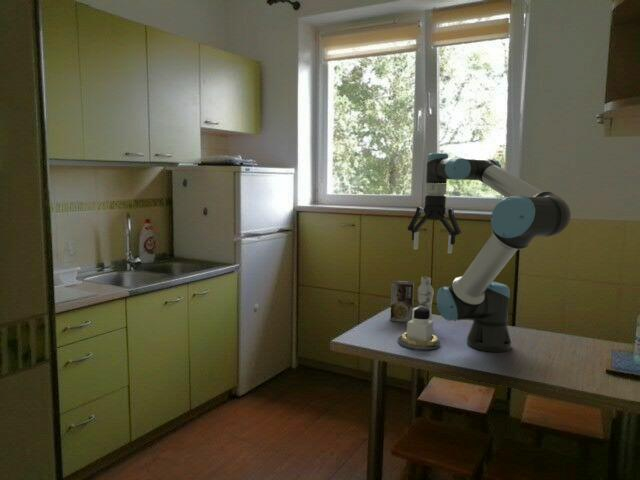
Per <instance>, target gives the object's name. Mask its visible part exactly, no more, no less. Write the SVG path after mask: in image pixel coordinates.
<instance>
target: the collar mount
mask: <svg viewBox="0 0 640 480" xmlns="http://www.w3.org/2000/svg"><path fill="white" fill-rule="evenodd" d="M397 343H398V344H399V345H400V346H401V347H403V348H406V349H410V350H413V351H422V352H423V351H426V352H427V351H434V350H438V349H440V347H441V340H439V339H438V336H437V335H435V334H433V333H432V340H431V341H415V340H411V339H409V338H407V331H405V332H403V333H402V334H401V335H400V336H399V337H398V338H397Z"/></svg>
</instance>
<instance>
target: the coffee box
mask: <svg viewBox="0 0 640 480" xmlns="http://www.w3.org/2000/svg"><path fill="white" fill-rule="evenodd" d="M414 287H415V281H409V280H408V281H407V280H397V279H396V280H392V282H391V289H390V290H391V294H390V295H391V296H390V317H389V318H390V319H389V320H390V322H401V323H403V322H404V323H408V322H409V321H411V320H412V310H413V308H414V294H415V292H414V290H415V289H414Z"/></svg>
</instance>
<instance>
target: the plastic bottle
mask: <svg viewBox="0 0 640 480" xmlns="http://www.w3.org/2000/svg"><path fill="white" fill-rule="evenodd" d="M431 281H432V278H431V277H428V276H424V277H423V276H422V277H421V278H420V283H421V284H420V285H419V286H418V287H417V290H416V294H417V307H424V308H427V309H429V310H430V315H429V320H430V321H433V318H432V305H433V300H434V294H435V290H434V288H433V286H432V284H431V283H432V282H431Z"/></svg>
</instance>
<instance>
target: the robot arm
mask: <svg viewBox="0 0 640 480" xmlns="http://www.w3.org/2000/svg"><path fill="white" fill-rule="evenodd" d="M426 160H427V161H426V172H425V173H426V174H425V175H426V177H425V179H426V180H425V194H426V195H425V196H424V207H422V206H417V207H416V210H415V214H414V215H413V217H412V219H411V221H410V222H409V225H408V226H407V230H408V231H410V232H411V240H412V241H413V247H412V248H413V250H418V249H419V242H420V239H419V238H420V237H419V236H420V232H419V231H418V230H420V228H421V227H422V226H423V225H424V224H425V223H426V222H427V221H430V220H431V221H432V220H435V221H440V222H441V223H442V225H443V227H445V229H446V231H448V233H449V234H450V235H448V237H447V238H448V239H447V240H448V241H447V242H448V243H447V254H452V253H453V245H455V244H456V237H457V236H458V235H461V234H462V232H461V229H460V226H459V224H458V221H457V219H456V217H455V214H454V208H449V209H448V208H447V209H446V203H447V201H446V200H447V197H446V196H445V195H446V194H447V181H448V180H453V181H456V180H457V181H460V180H463V181H465V180H466V181H480V182H481V183H483V184H484V185H485V186H488V188H490V189H492V190H494V191H495V192H496V193H498V194H500V195H501V196H502V197H504V198H502V199H501V200H499V201H498V202H497V203H496V204H495V206H494V207H493V209H492V212H491V216H492V217H491V218H490V224H491V232H492V234H491V236H490V237H489V238H488V240H486V242H485V244H484V245H483V247H482V248H481V249H480V251H479V252H478V253H477V255H476V257H475V258H474V259H473V260H472V262H470V264H469V266H468V268H467V269H466V271H464V273H463V275H462V276H457V277H455V278H454V279H453V281H452V282H451V283H450V285H449V286H443V287H440V288H439V289H438V290H437V293H436V296H435V297H436V306H437V310H438V312H439V315H440V316H441V317H442V318H443V319H444V320H446V321H448V322H450V321H453V322H458V321H466V320H472V325H471V327H470V329H469V331H468V333H467V336H466V344H467V345H468V346H470V347H472V348H474V349H476V350H480V351H483V352H489V353H490V352H491V353H504V352H508V351H510V350H511V348H512V339H511V335H510V331H509V327H508V324H509V323H508V321H509V311H510V309H509V308H510V301H511V300H510V299H511V296H510V295H511V293H510V292H511V289H510V287H509V285H506V284H505V283H501V282H497V281H495V279H496V277H497V276H498V275H499V274H500V273H501V271H502V270H503V269H504V267H505V266H506V265H507V264H508V263H509V261H511V258H513V256H514V255H515V254H516V252H517V251H518V250H524V249H527V247H528V246H529V245H530V243H531V242H532V241H533V240H534V239H535V238H538V237H539V238H540V237H541V238H545V237H547V238H550V237H553V236H556V235H558V234H559V235H560V233H563V231H565V230H566V228H567V227H568V226H569V224H570V222H571V217H572V215H571V214H572V213H571V209H570V206H569V204H568V202H566V201H565V200H564V199H563V198H561V197H560V196H558V195H556V194H555V193H553V192H551V191H548V190H546V191H542V190H541V189H539V188H537V187H536V186H534V185H532V184H530V183H528V182H526V181H525V180H523V179H521V178H519V177H518V176H515V174H513V173H511V172H509V171H507V170H505V169H504V168H502V166H501V164H500V162H499V161H498V160H495V159H490V158H485V159H483V158H465V157H464V158H463V157H457V156H456V157H449V154H448V153H445V152H431V153H429V154H428V155H427V159H426ZM422 213H424V216H422V218H421V219H420V221H418V220H419V218H420V217H421V215H422ZM445 214H446V215H448V218H449V220H450V222H449V221H448V220H447V218H446V217H445ZM451 225H452V226H451Z"/></svg>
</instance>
